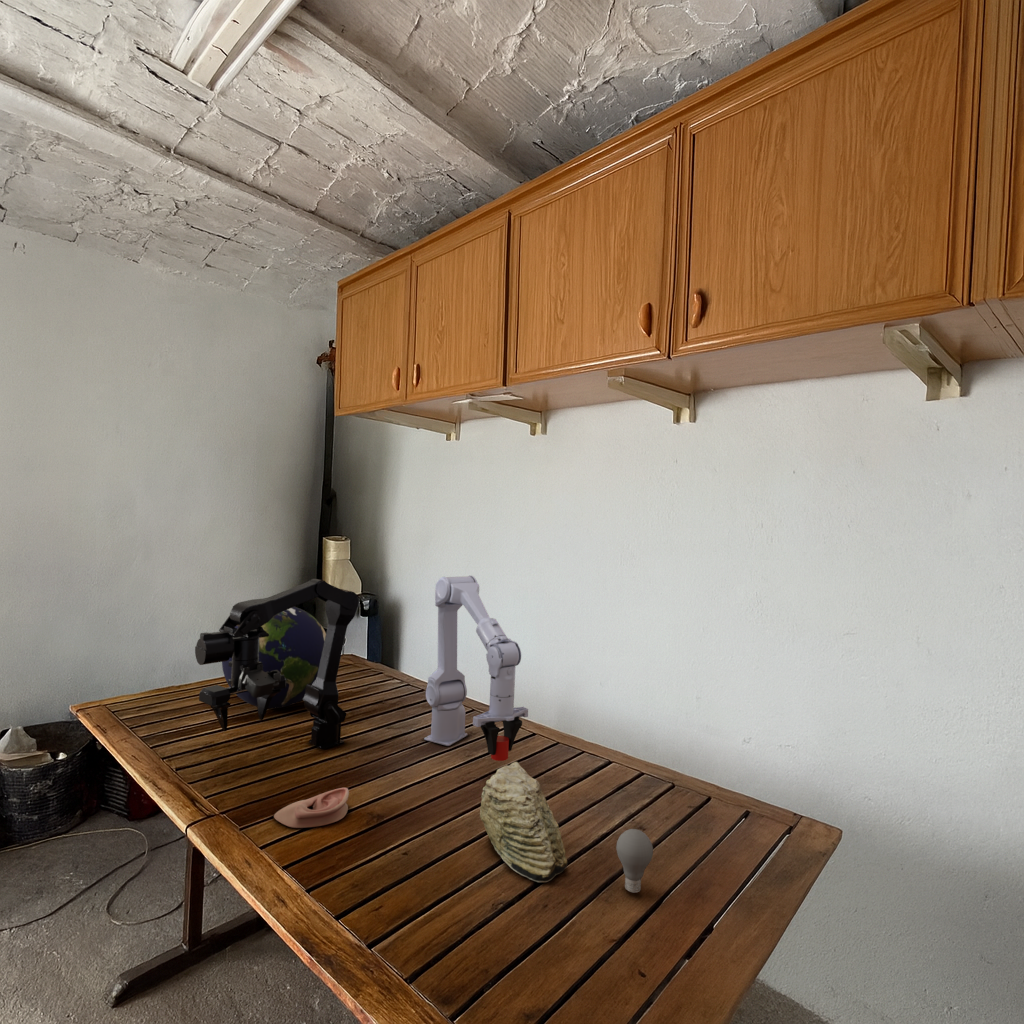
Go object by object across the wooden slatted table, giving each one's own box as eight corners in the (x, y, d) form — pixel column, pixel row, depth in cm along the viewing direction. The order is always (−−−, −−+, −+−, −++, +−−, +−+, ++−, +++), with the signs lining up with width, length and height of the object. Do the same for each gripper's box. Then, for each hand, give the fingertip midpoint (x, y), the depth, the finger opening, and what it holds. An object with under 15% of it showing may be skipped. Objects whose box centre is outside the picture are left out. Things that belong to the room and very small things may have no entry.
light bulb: (610, 879, 108) (613, 822, 108) (644, 879, 109) (647, 822, 109) (619, 902, 102) (622, 840, 102) (655, 901, 103) (658, 840, 103)
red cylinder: (511, 756, 150) (511, 737, 149) (503, 762, 146) (504, 743, 146) (495, 752, 151) (496, 734, 151) (488, 758, 148) (488, 739, 148)
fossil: (501, 827, 124) (504, 751, 124) (575, 868, 111) (578, 784, 111) (467, 843, 118) (470, 763, 118) (541, 889, 105) (545, 799, 105)
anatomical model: (265, 803, 122) (297, 778, 133) (264, 823, 122) (296, 796, 133) (329, 813, 119) (356, 786, 130) (328, 833, 119) (355, 805, 130)
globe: (289, 685, 209) (292, 594, 208) (348, 705, 191) (352, 606, 191) (199, 706, 185) (203, 604, 184) (258, 732, 167) (262, 619, 167)
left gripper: (227, 672, 133) (225, 745, 134) (301, 656, 149) (299, 722, 149) (198, 662, 140) (196, 733, 140) (272, 648, 155) (270, 711, 155)
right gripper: (485, 703, 141) (483, 764, 141) (536, 694, 149) (534, 751, 150) (468, 694, 147) (466, 753, 147) (519, 686, 155) (516, 741, 155)
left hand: (243, 725), depth 146 cm, fingers open, 9 cm apart
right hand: (499, 751), depth 149 cm, fingers closed on red cylinder, 4 cm apart
